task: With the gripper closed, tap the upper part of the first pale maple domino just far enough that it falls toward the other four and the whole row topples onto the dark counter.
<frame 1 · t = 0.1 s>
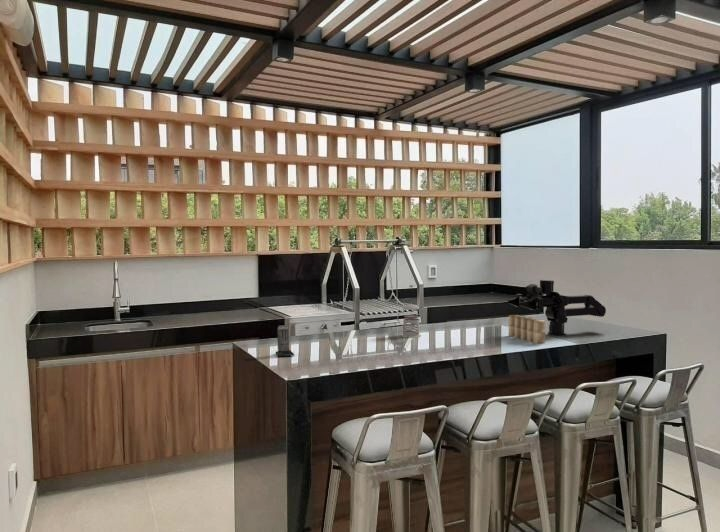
hand: (513, 302, 263), 17 cm above the countertop, fingers open, 9 cm apart
domino 2: (520, 337, 264), on the countertop
domino 1: (514, 335, 269), on the countertop
domino 5: (539, 342, 251), on the countertop
domino 3: (526, 339, 260), on the countertop
french press: (409, 336, 269), on the countertop
gray block on base: (284, 355, 225), on the countertop
domino 4: (532, 340, 255), on the countertop
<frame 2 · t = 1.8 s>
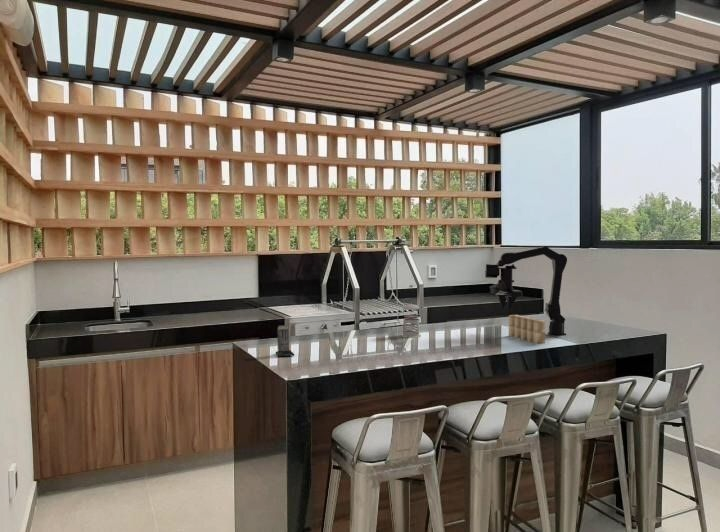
hand: (505, 309, 275), 12 cm above the countertop, fingers open, 5 cm apart
nothing on the countertop moved.
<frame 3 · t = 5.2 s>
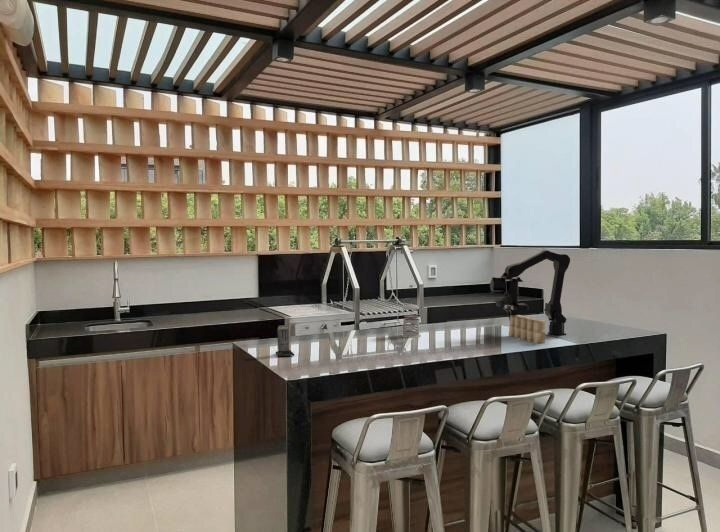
hand: (511, 322, 270), 6 cm above the countertop, fingers closed
domino 1: (514, 335, 269), on the countertop, tilted 8°, touching gripper
everything else where it was.
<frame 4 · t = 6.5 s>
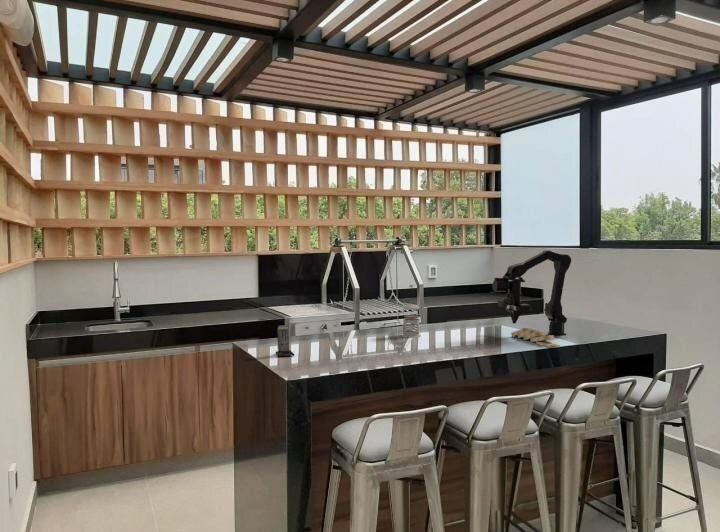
hand: (514, 323, 268), 6 cm above the countertop, fingers closed
domino 2: (522, 336, 263), point 1 cm above the countertop, tilted 68°, touching domino 1, domino 3
domino 1: (515, 334, 267), point 1 cm above the countertop, tilted 69°, touching domino 2
domino 5: (540, 342, 249), on the countertop, tilted 90°, touching domino 4
domino 3: (528, 337, 258), point 1 cm above the countertop, tilted 69°, touching domino 2, domino 4
domino 4: (535, 339, 253), point 1 cm above the countertop, tilted 75°, touching domino 3, domino 5
everything else where it was.
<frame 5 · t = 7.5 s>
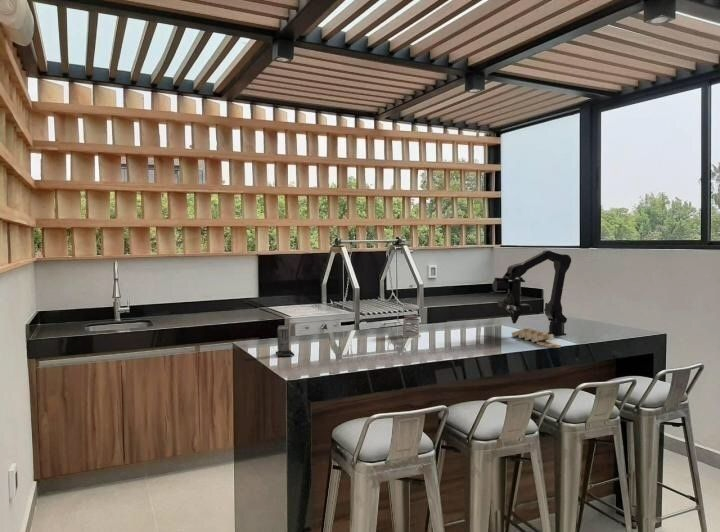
hand: (514, 323, 268), 6 cm above the countertop, fingers closed
domino 2: (523, 336, 262), point 1 cm above the countertop, tilted 69°, touching domino 1, domino 3
domino 5: (541, 342, 249), on the countertop, tilted 90°
domino 4: (536, 340, 252), point 1 cm above the countertop, tilted 71°, touching domino 3
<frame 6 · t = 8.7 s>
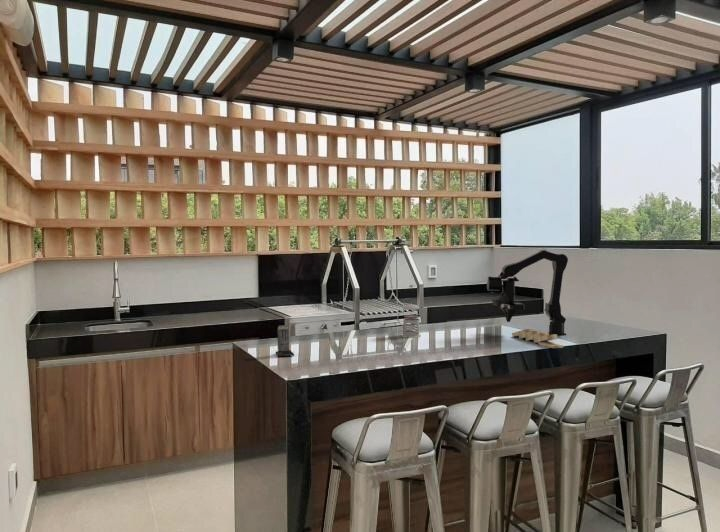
hand: (508, 321, 273), 6 cm above the countertop, fingers closed
domino 2: (523, 336, 261), point 1 cm above the countertop, tilted 70°, touching domino 1, domino 3
domino 5: (542, 343, 248), on the countertop, tilted 90°, touching domino 4
domino 4: (538, 340, 251), point 1 cm above the countertop, tilted 71°, touching domino 3, domino 5
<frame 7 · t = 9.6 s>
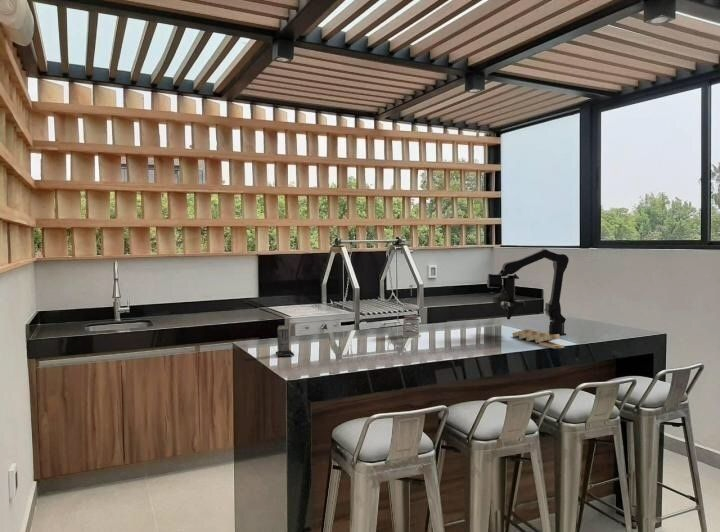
hand: (508, 319, 273), 7 cm above the countertop, fingers closed
domino 3: (530, 338, 256), point 1 cm above the countertop, tilted 70°, touching domino 2
domino 4: (539, 340, 250), point 1 cm above the countertop, tilted 70°, touching domino 5
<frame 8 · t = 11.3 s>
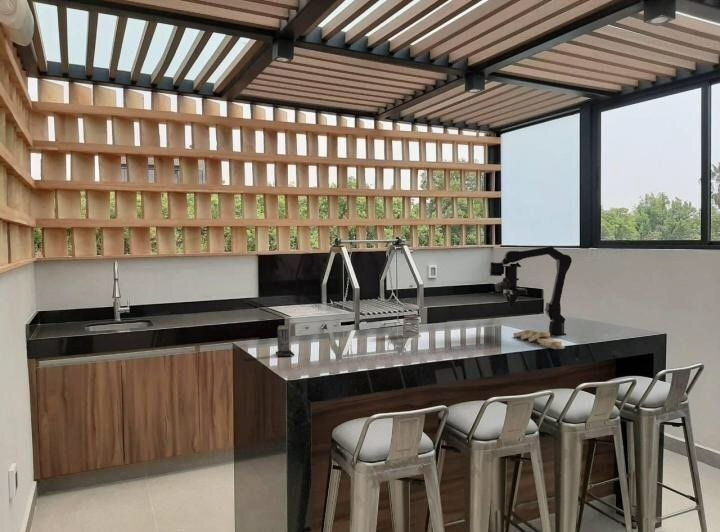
hand: (510, 307, 274), 13 cm above the countertop, fingers closed
domino 2: (525, 337, 259), point 1 cm above the countertop, tilted 70°, touching domino 1, domino 3
domino 5: (544, 343, 246), on the countertop, tilted 90°, touching domino 4
domino 3: (533, 339, 253), point 1 cm above the countertop, tilted 66°, touching domino 2, domino 4
domino 4: (542, 339, 247), point 2 cm above the countertop, tilted 90°, touching domino 3, domino 5
at the end: domino 5 tilted 90°; domino 1 tilted 73° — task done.
